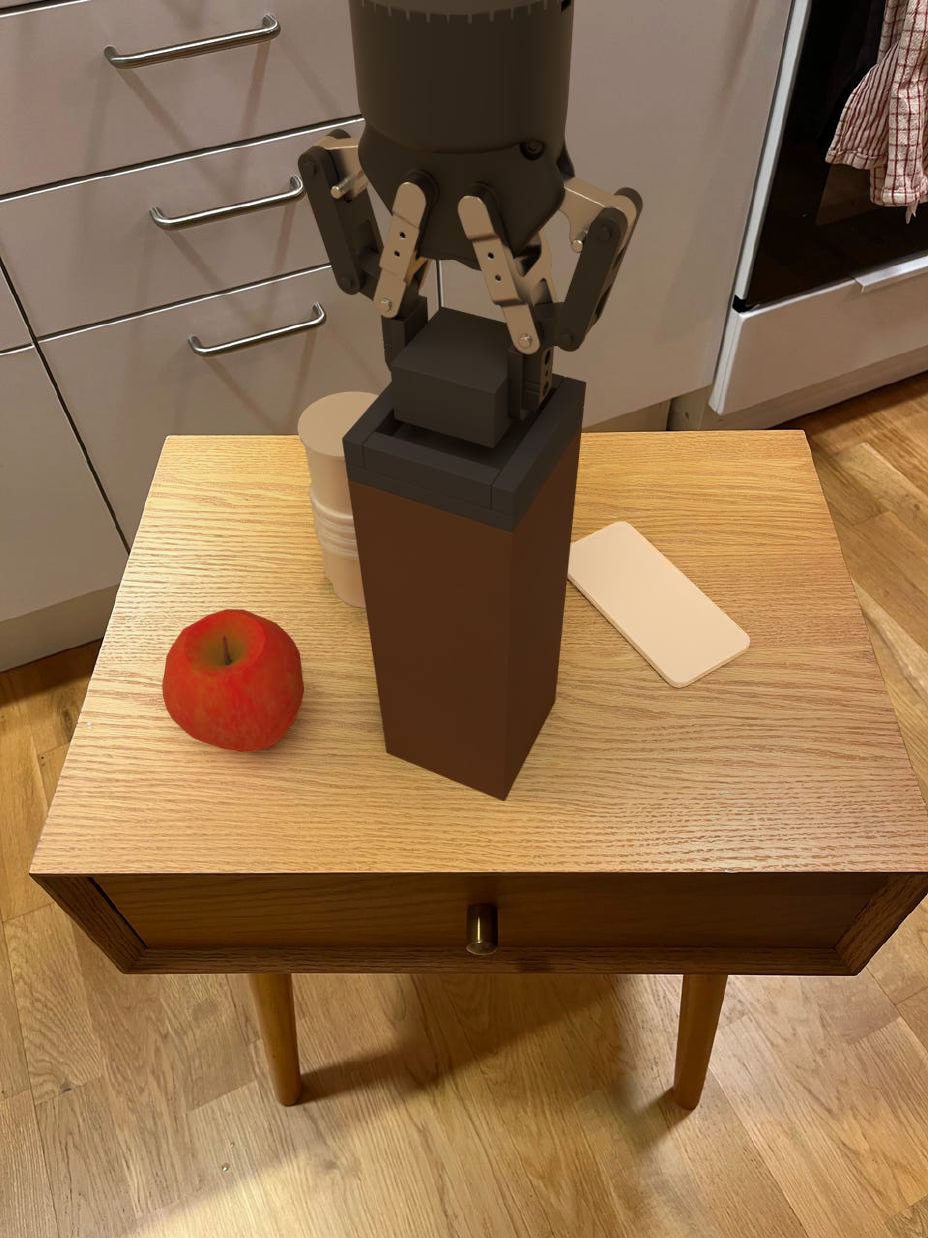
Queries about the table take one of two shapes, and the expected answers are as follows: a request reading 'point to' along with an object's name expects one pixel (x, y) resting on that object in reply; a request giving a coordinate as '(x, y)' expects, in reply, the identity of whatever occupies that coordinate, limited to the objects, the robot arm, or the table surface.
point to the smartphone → (654, 604)
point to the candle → (334, 487)
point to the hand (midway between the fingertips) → (467, 392)
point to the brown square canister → (466, 581)
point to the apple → (233, 681)
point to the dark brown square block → (455, 377)
